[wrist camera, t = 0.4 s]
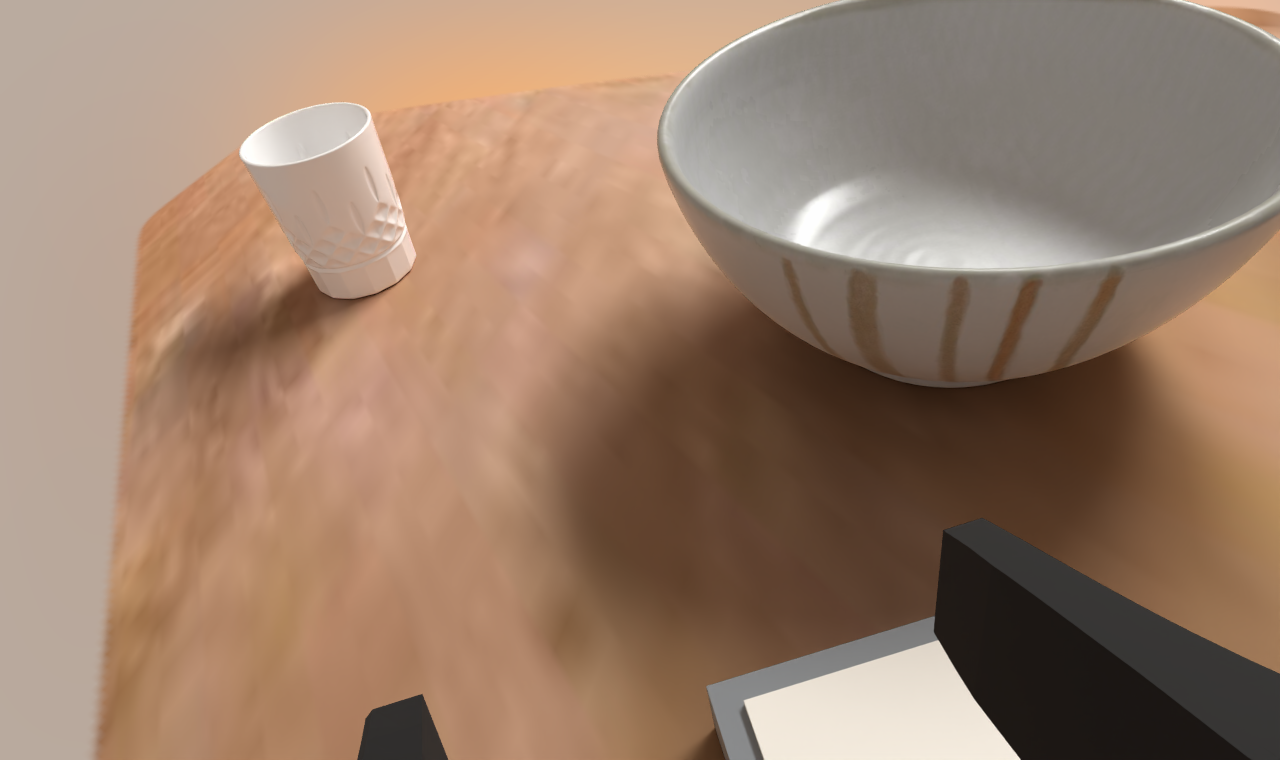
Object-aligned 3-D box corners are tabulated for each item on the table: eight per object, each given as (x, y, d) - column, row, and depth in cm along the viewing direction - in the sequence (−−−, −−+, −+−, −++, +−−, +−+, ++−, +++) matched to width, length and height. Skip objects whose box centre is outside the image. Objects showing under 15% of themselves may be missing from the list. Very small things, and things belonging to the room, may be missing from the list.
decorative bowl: (911, 620, 32) (936, 391, 24) (606, 289, 51) (562, 98, 43) (1376, 335, 39) (1517, 80, 31) (954, 135, 58) (973, -56, 50)
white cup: (443, 236, 58) (392, 99, 52) (392, 308, 53) (328, 165, 46) (345, 236, 61) (284, 104, 54) (287, 304, 55) (211, 167, 49)
